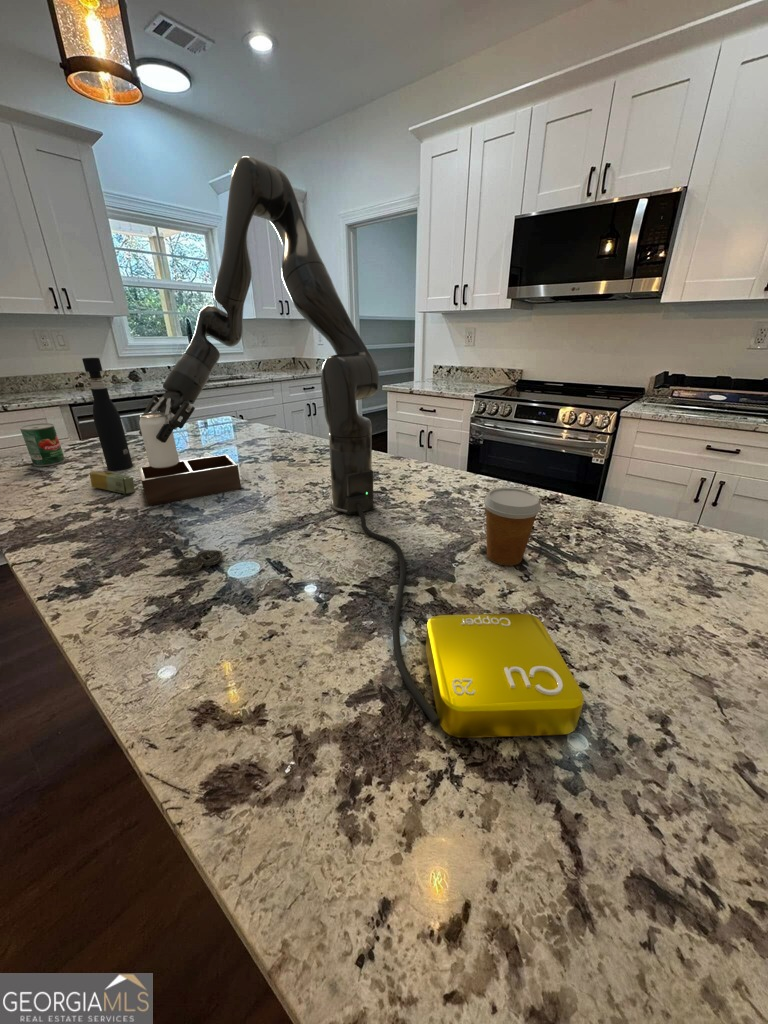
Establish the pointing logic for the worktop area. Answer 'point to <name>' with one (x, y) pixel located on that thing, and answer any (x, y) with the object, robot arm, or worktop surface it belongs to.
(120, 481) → the medication box
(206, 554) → the corroded twin loop
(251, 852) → the worktop surface
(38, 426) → the canned tomato
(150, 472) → the caddy
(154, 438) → the can
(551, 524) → the worktop surface
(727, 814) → the worktop surface
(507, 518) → the disposable coffee cup
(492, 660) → the element tile
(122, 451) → the black water bottle
